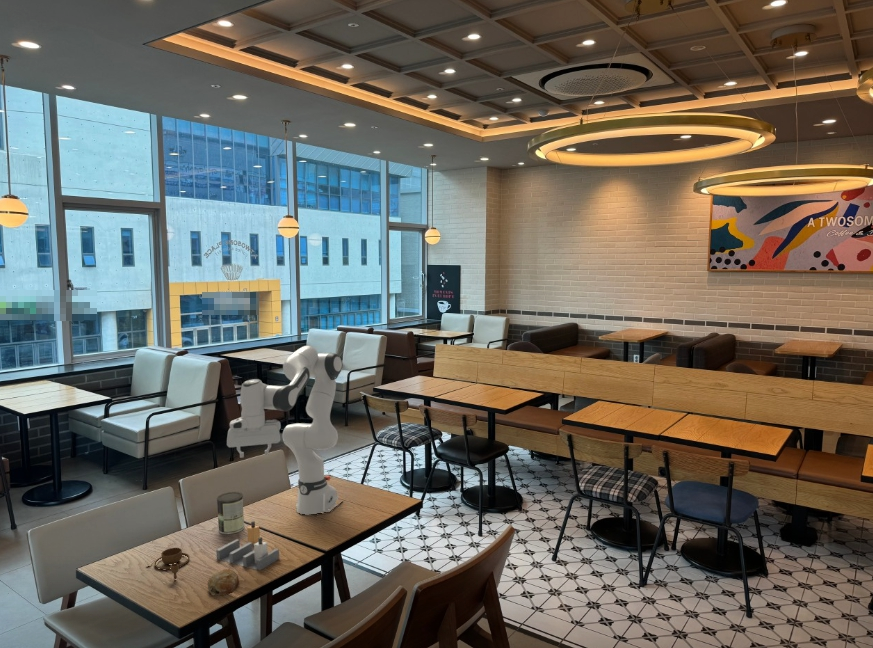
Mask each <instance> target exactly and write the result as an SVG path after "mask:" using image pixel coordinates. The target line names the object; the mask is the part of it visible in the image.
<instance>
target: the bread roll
mask: <svg viewBox="0 0 873 648" xmlns="http://www.w3.org/2000/svg"><path fill="white" fill-rule="evenodd" d="M239 580H240V579H239V575H238V574H237V573H236V572H235V571H233V570H231V569H226V568H225V569H223V570H220V571H218V572H215V573H213V574H212V575H211V576H210V577H209V579H208V581H207V589H208V592H209V593H210V594H211V596H226V594H227V595H230V594H232V593H233V590H235V589H236V588H237V587H238V585H239Z"/></svg>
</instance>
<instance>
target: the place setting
mask: <svg viewBox="0 0 873 648" xmlns="http://www.w3.org/2000/svg"><path fill="white" fill-rule="evenodd" d="M182 555H185V556H187V557H188V559H186V560H185V561H184V562H182V563H180V564H179V562H180V561H181V560H182V558H183V557H182ZM161 558H162V561H161V562H162V563H163V564H164V565H167V564H172V565H170V566H165V567H164V566H163V567H162V566H158V564H157V565H156V562H157V561H158V560H159V559H161ZM189 561H190V555H189V554H188V553H186V552H183V550H182V548H180V547H171V548H167V549H165V550H163V551H162V552H161V556H160V557H158V558H157V559H156V560H154V562H153V564H154V567H155V566H156V567H157V568H160V569H170V568H171V570H170V571H171V574H173V580H174V579H177V578H178V575H177V573H178V572H179V568H181V567H180V566H182V565H184V564H185V565H186V563H187V562H189ZM177 562H178V563H177ZM174 563H177V564H174ZM187 564H188V563H187ZM185 565H184V566H185ZM156 567H155V568H156ZM182 567H183V566H182ZM157 568H156V569H157Z"/></svg>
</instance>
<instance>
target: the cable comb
mask: <svg viewBox="0 0 873 648" xmlns="http://www.w3.org/2000/svg"><path fill="white" fill-rule="evenodd" d="M240 544H241V543H240V539H234V540H233V541H232V540H231V541H230V542H228V543H226V544H225V545H222V546H221V547H219V548H217V549H216V551H215V552H216V560H219V561H223V562H226V563H230V564H233V565H237V566H241V567H244V568H245V567H246V568H250V569H253V570H256V571H263V570H264V569H265V568H267V567H268V566H269V565H271V564H273V563H275V562H276V561H278V560H279V559H280V550H279V548H274V549H273V550H271V551H269V552H268V553H267V554H266V555H264V556H262V557H261V558H259V559H257V560H256V562H257V563H255V556H254V548H253V544H252V543H250V542H249V543H248V542H247V543H245V544H243V545H242V546H240Z"/></svg>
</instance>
